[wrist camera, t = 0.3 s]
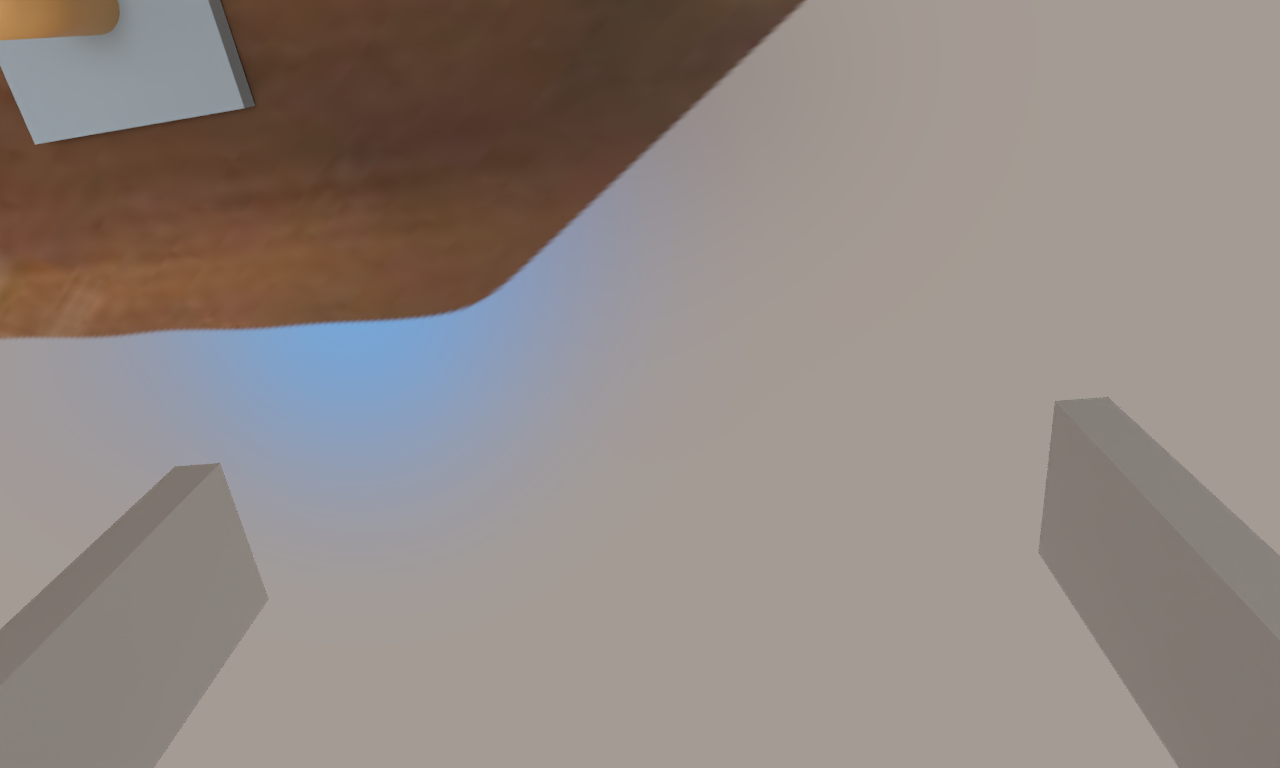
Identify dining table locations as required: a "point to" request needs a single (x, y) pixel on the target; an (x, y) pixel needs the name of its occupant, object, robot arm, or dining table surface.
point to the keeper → (118, 63)
